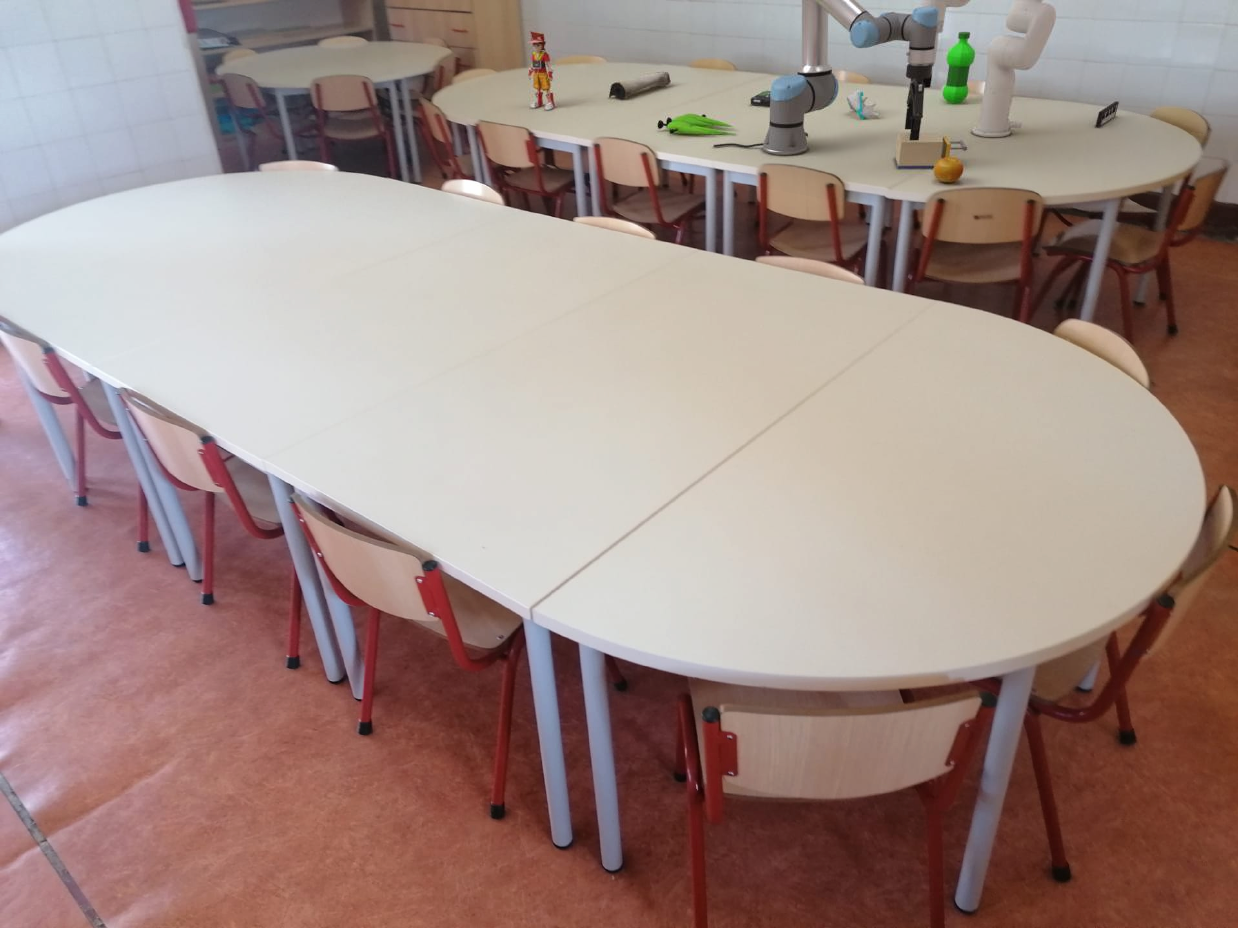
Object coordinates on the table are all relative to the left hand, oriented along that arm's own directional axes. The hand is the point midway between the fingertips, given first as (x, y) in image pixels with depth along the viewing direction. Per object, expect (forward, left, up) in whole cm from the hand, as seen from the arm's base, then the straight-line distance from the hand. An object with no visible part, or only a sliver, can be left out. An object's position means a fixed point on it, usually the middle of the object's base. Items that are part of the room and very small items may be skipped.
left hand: (911, 134), depth 288 cm
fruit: (+16, -13, -9) cm, 23 cm away
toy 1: (-163, +24, -9) cm, 165 cm away
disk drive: (-75, +62, -9) cm, 98 cm away
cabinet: (+3, +1, -9) cm, 10 cm away
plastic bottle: (-6, +85, -9) cm, 86 cm away
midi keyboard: (+50, +73, -9) cm, 89 cm away
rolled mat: (-136, +61, -9) cm, 150 cm away
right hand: (-2, +15, +12) cm, 19 cm away
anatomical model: (-34, +54, -9) cm, 65 cm away
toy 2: (-82, +13, -9) cm, 84 cm away
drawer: (+8, +4, -8) cm, 12 cm away
